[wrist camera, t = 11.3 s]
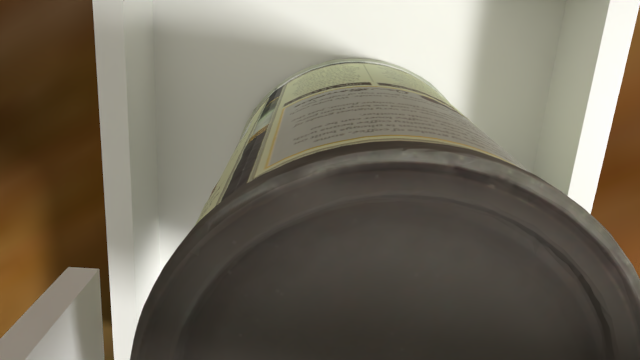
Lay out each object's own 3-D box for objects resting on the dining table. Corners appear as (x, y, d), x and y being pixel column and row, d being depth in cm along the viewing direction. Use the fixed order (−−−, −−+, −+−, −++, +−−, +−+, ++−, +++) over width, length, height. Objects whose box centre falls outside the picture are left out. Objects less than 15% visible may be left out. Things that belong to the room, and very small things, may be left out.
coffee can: (479, 270, 26) (648, 574, 12) (255, 295, 26) (185, 614, 13) (470, 38, 23) (684, 114, 9) (213, 71, 23) (62, 189, 10)
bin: (509, 352, 28) (542, 417, 24) (147, 332, 28) (116, 394, 24) (587, -32, 23) (648, -36, 18) (132, -63, 22) (88, -75, 18)
